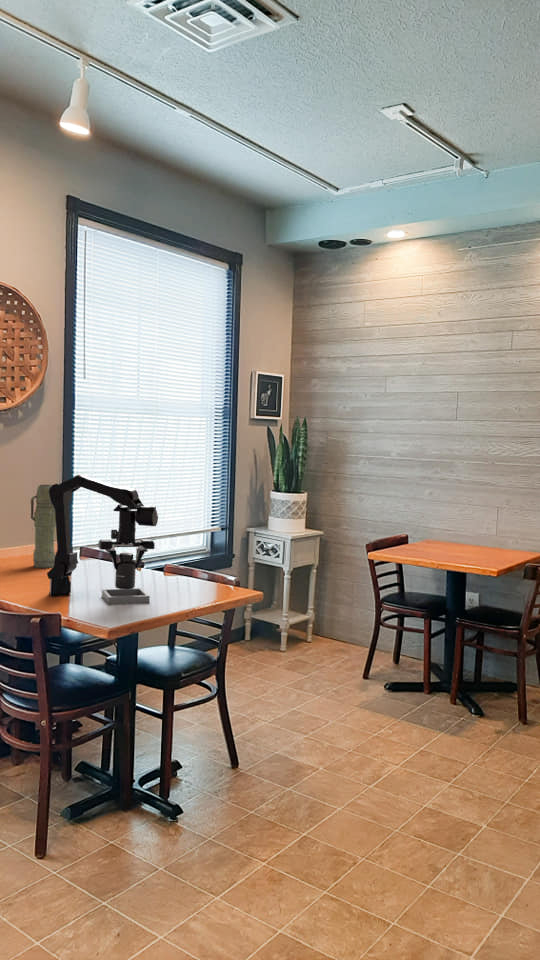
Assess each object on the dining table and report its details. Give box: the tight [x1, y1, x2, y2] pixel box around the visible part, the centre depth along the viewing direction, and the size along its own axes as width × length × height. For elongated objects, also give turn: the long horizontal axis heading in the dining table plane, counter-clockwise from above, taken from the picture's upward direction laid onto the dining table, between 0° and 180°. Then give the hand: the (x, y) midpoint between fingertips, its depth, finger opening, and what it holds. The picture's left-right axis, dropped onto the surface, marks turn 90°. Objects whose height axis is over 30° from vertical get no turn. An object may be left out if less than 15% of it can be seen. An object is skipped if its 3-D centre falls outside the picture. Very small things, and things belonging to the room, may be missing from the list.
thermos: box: [30, 484, 56, 569], centre depth 330 cm, size 9×12×35 cm
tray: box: [101, 587, 151, 606], centre depth 271 cm, size 14×14×2 cm
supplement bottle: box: [114, 552, 137, 589], centre depth 271 cm, size 7×7×12 cm
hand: (125, 569), depth 271 cm, fingers closed on supplement bottle, 7 cm apart
